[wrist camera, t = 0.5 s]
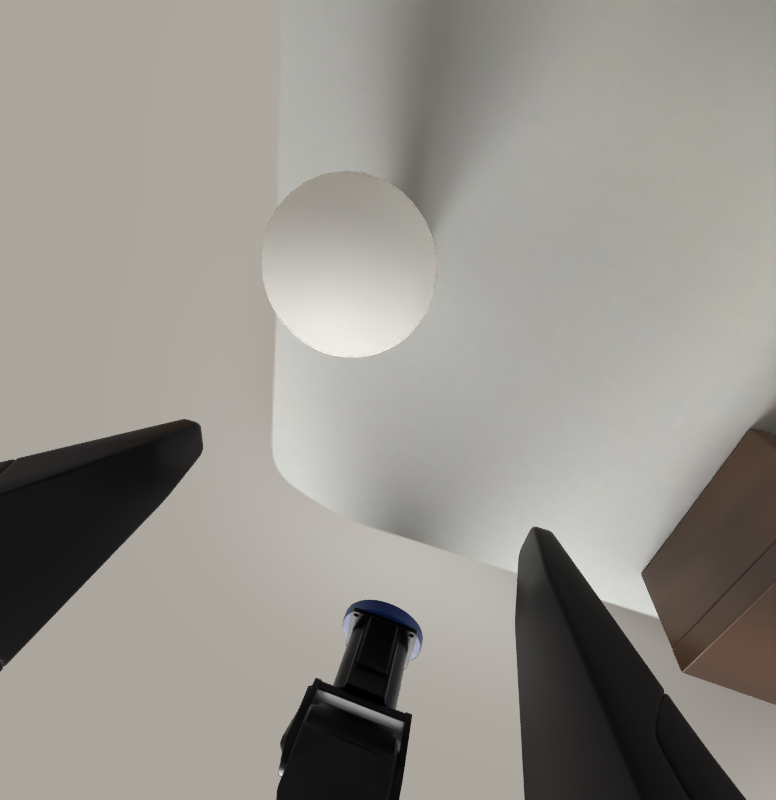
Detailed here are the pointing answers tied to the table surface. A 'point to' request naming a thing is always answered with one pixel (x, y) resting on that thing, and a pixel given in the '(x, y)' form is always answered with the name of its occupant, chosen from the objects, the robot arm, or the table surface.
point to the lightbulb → (349, 264)
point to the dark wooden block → (725, 575)
